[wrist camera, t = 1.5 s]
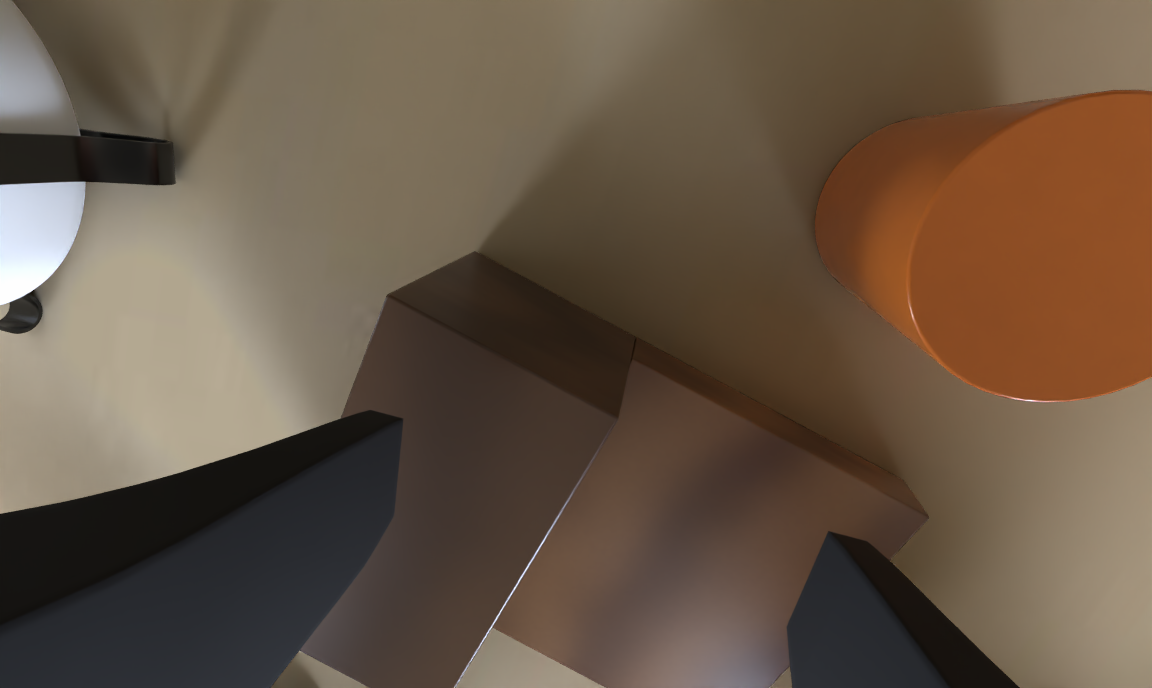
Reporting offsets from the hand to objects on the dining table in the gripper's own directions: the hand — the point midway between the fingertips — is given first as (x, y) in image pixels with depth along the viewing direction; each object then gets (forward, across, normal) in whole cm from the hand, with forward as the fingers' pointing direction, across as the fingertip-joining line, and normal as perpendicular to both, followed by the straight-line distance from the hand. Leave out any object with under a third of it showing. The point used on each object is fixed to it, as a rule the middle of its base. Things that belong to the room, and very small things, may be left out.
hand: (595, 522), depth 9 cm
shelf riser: (+10, 0, +6) cm, 11 cm away
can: (+10, -7, -6) cm, 13 cm away
